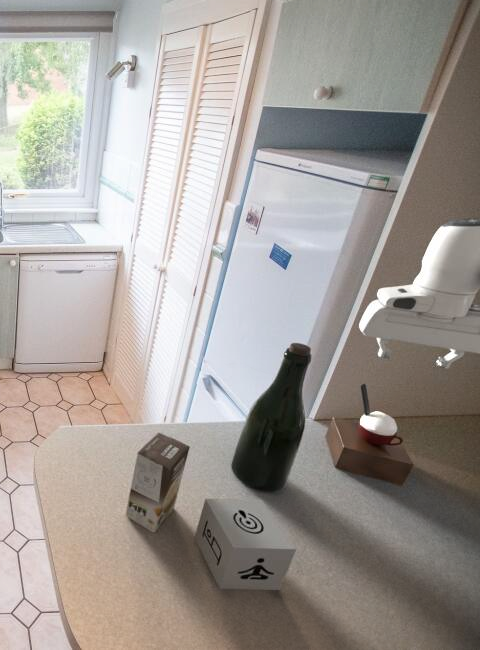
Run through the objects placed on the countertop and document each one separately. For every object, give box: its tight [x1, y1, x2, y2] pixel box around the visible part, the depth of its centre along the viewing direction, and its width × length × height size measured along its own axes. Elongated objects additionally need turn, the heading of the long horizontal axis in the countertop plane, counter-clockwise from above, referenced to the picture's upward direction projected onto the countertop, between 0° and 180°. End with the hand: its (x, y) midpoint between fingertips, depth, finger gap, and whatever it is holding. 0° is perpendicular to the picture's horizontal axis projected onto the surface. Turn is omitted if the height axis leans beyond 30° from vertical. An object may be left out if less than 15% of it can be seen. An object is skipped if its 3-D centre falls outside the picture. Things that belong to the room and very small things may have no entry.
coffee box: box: [124, 432, 191, 533], centre depth 88 cm, size 9×6×16 cm
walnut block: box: [324, 416, 414, 487], centre depth 104 cm, size 12×12×6 cm
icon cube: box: [194, 498, 297, 591], centre depth 79 cm, size 10×10×10 cm
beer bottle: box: [230, 342, 313, 493], centre depth 94 cm, size 10×10×33 cm
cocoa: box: [358, 383, 404, 446], centre depth 100 cm, size 10×6×12 cm, turn 5°
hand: (411, 361), depth 95 cm, fingers open, 8 cm apart
